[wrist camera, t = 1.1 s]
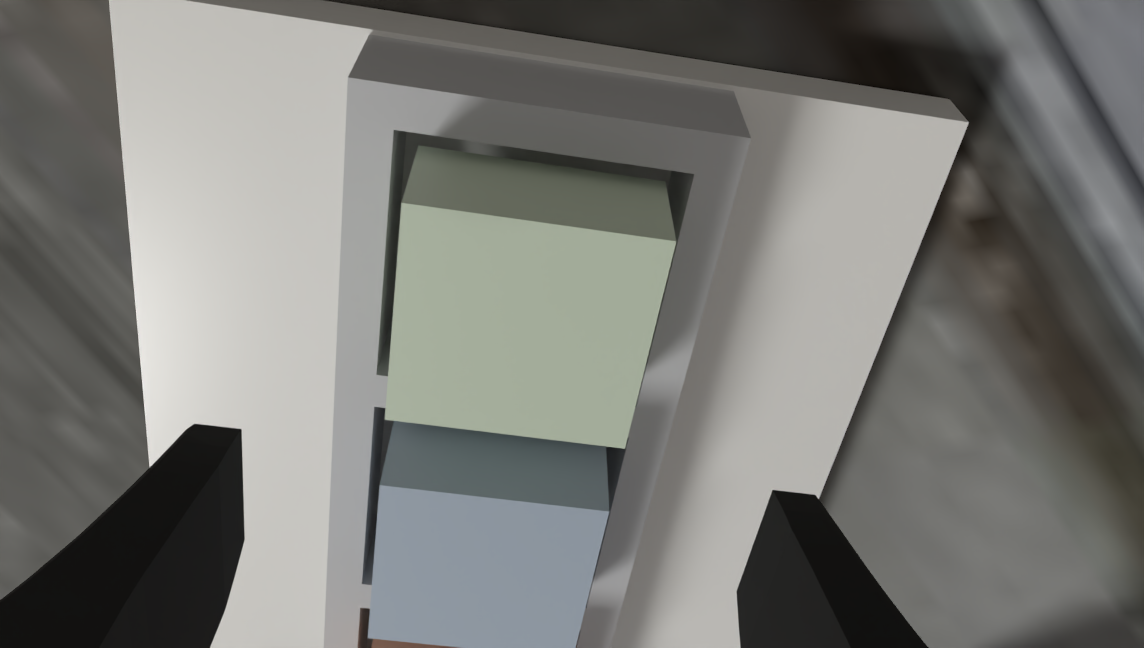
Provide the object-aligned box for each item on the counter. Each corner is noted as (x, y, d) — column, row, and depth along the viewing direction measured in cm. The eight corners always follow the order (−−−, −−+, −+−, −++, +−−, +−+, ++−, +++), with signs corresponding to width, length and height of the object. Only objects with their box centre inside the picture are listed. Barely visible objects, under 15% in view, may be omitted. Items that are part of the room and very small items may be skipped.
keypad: (949, 99, 21) (1010, 172, 18) (679, 804, 34) (689, 909, 31) (132, -30, 19) (56, 26, 16) (190, 760, 33) (154, 866, 30)
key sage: (665, 181, 18) (676, 241, 16) (619, 377, 21) (624, 448, 19) (418, 145, 18) (401, 202, 16) (401, 349, 20) (384, 419, 18)
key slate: (605, 437, 22) (609, 511, 20) (572, 581, 24) (572, 659, 22) (395, 412, 21) (379, 485, 19) (383, 560, 24) (368, 638, 22)
